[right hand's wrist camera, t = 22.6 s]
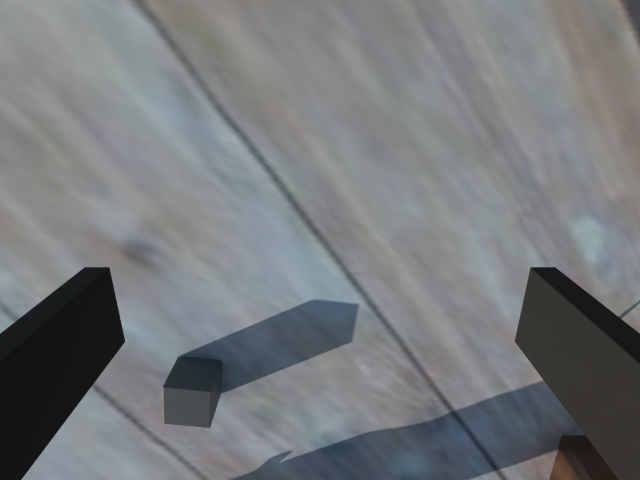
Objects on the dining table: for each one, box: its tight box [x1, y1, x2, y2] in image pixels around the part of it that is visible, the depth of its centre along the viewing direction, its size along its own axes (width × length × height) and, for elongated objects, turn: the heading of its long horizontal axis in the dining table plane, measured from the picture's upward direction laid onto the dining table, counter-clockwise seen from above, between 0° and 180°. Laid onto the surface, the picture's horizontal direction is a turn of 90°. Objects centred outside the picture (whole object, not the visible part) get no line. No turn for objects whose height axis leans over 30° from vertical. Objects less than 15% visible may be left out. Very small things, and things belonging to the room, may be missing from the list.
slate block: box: [163, 357, 222, 428], centre depth 45 cm, size 5×5×5 cm
